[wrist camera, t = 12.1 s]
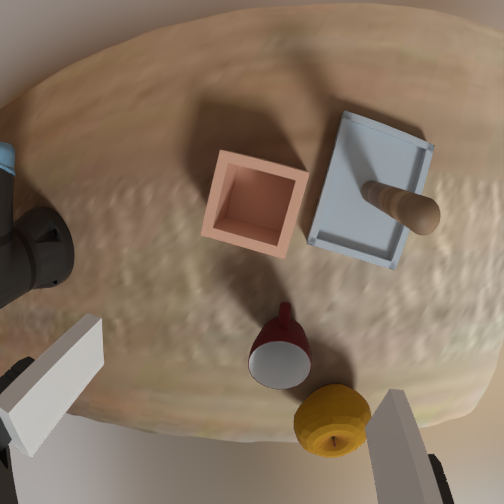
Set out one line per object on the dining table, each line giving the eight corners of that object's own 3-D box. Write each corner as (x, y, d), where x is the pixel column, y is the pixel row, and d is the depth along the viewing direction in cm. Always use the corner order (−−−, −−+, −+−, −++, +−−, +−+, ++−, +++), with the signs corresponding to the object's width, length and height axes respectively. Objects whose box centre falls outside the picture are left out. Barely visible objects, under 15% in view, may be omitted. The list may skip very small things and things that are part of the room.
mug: (253, 289, 46) (242, 323, 36) (308, 287, 44) (311, 321, 35) (259, 349, 48) (250, 389, 39) (310, 348, 47) (311, 389, 38)
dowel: (358, 198, 39) (402, 228, 22) (364, 177, 38) (414, 191, 21) (378, 205, 39) (433, 240, 22) (384, 184, 38) (444, 204, 21)
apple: (324, 429, 52) (325, 474, 42) (280, 396, 51) (274, 443, 40) (379, 396, 48) (390, 442, 38) (338, 357, 47) (345, 405, 36)
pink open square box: (217, 221, 43) (200, 234, 36) (234, 151, 40) (220, 149, 33) (286, 241, 43) (284, 259, 35) (307, 170, 40) (309, 173, 32)
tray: (390, 265, 42) (394, 270, 39) (306, 239, 42) (306, 243, 40) (428, 145, 36) (434, 145, 34) (342, 112, 37) (344, 110, 35)
